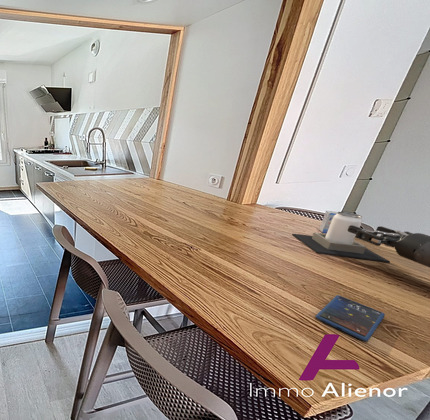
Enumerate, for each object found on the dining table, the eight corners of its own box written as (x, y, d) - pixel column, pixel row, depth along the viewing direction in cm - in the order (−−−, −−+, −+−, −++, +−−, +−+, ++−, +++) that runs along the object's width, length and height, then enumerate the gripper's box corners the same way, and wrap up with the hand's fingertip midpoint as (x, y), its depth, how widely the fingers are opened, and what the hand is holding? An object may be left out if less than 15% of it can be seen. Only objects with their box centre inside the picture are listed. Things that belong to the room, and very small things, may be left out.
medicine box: (321, 232, 99) (329, 212, 96) (318, 229, 103) (326, 209, 100) (350, 237, 95) (359, 216, 92) (345, 233, 98) (354, 213, 95)
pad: (351, 241, 91) (355, 234, 90) (389, 263, 77) (394, 254, 76) (291, 234, 97) (294, 227, 96) (316, 253, 83) (320, 244, 82)
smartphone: (315, 315, 54) (337, 294, 61) (313, 318, 54) (335, 296, 61) (368, 340, 47) (386, 313, 54) (366, 343, 48) (384, 316, 55)
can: (351, 252, 82) (366, 219, 78) (323, 246, 86) (336, 214, 83) (348, 245, 87) (361, 214, 83) (322, 240, 91) (334, 210, 87)
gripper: (471, 241, 62) (392, 218, 77) (410, 238, 63) (344, 217, 78) (455, 266, 64) (381, 239, 80) (397, 264, 65) (335, 238, 80)
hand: (363, 228), depth 79 cm, fingers open, 8 cm apart
